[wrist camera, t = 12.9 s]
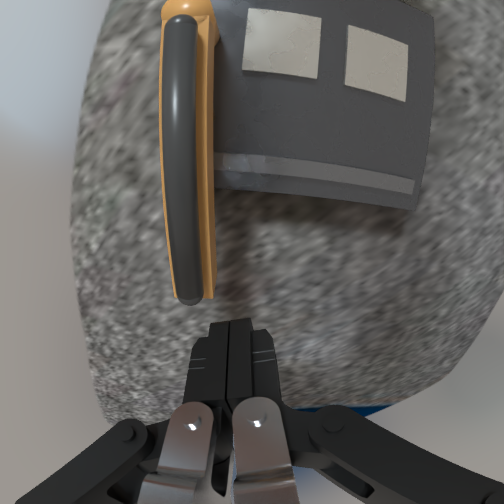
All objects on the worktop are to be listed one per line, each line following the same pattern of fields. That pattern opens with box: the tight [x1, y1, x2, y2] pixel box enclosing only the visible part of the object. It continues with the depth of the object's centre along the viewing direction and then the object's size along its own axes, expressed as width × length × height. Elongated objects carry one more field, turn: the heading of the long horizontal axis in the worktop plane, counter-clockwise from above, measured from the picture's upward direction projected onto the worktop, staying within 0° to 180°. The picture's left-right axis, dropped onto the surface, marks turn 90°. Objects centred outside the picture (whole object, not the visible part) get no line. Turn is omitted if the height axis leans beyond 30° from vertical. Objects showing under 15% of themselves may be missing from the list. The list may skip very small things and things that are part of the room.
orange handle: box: [159, 0, 220, 306], centre depth 15 cm, size 3×18×7 cm, turn 179°
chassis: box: [210, 0, 435, 211], centre depth 17 cm, size 18×20×3 cm
